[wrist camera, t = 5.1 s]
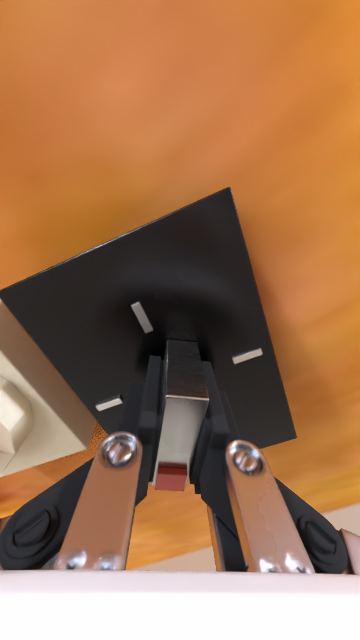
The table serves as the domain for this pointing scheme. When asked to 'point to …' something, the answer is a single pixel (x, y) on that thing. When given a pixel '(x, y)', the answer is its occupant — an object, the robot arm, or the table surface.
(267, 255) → the table surface
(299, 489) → the table surface
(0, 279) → the table surface
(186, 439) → the hob knob
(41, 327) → the panel
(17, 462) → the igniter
